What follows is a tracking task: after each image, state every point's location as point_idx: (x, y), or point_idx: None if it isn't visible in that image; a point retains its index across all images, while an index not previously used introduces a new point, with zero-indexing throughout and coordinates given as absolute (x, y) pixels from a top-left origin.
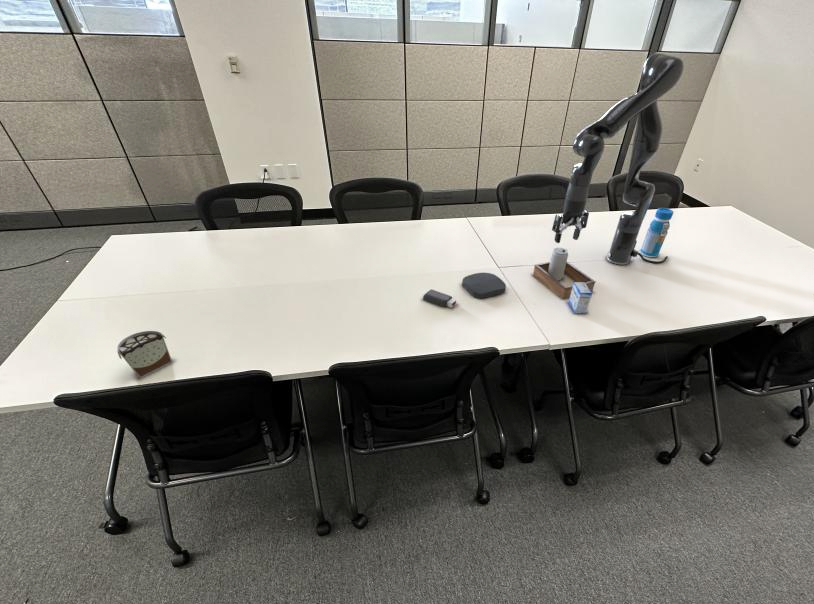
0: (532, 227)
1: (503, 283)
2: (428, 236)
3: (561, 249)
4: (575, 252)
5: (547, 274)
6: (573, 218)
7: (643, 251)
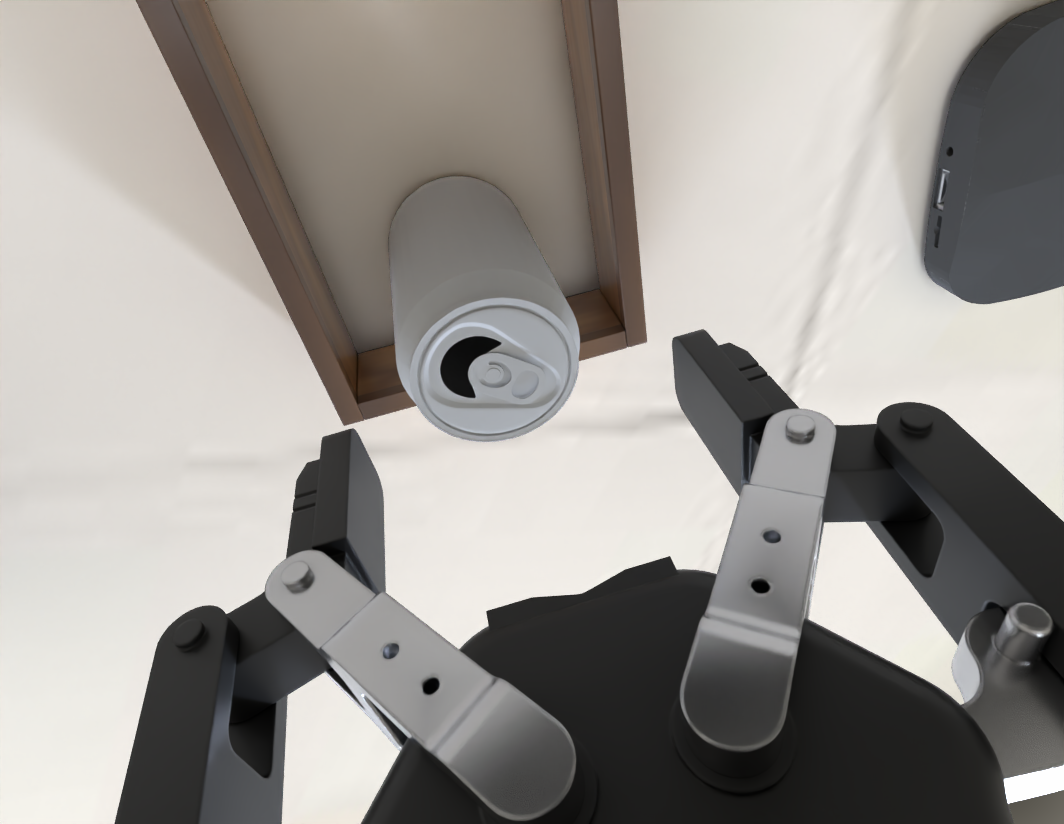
0: (371, 784)
1: (994, 113)
2: (903, 662)
3: (471, 405)
4: (155, 590)
5: (628, 147)
6: (707, 742)
7: None
